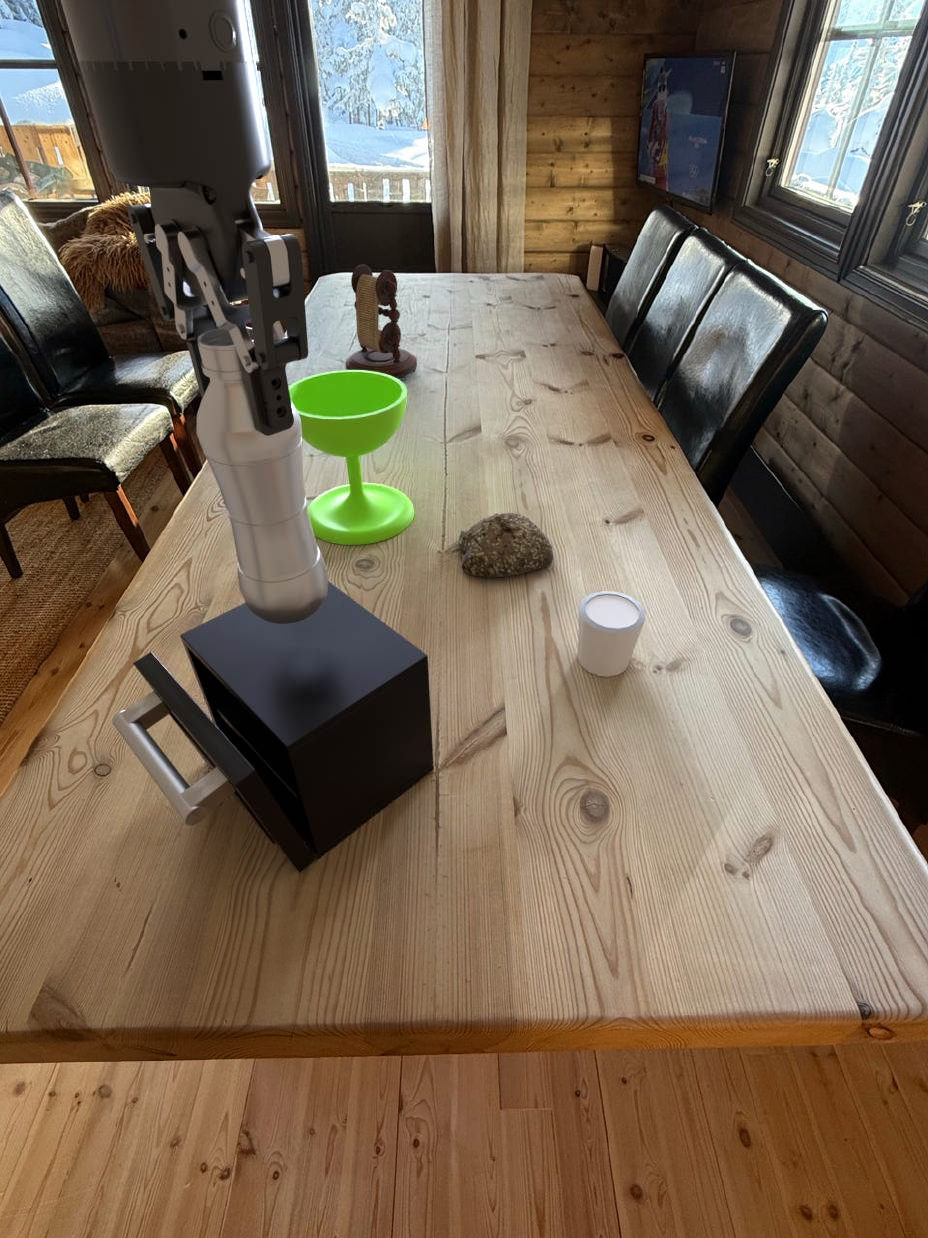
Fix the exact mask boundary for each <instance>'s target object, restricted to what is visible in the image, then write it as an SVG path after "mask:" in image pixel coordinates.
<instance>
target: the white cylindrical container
mask: <svg viewBox="0 0 928 1238" xmlns="http://www.w3.org/2000/svg"><path fill="white" fill-rule="evenodd" d="M578 608H579V611H578V636H577V639H578V640H577V660H578V663H579V664H580V666H581V667H582V668H583V669H584V670H585V671H587V672H588V673H589V674H593V675H595V676H597V677H598V676H599V677H606V678H609V677H610V678H611V677H614V676H619V675H620V674H622V673H624V672H625V671H626V669H627V668H628V666H629V665H630V662H631V659H632V656H633V653H634V651H635V648H636V645H637V643H638V640H639V638H640V635H641V632H642V629H643V627H644V624H645V621H646V610H645V609H644V607H643V606H642V605H641V603H640V602H639V601H637V600H636V599H635V598H634V597H632V596H631V595H627V594H624V593H622V592H619V591H611V590H601V591H596V592H593V593H591V594H588V595H586V596H584V598H583V599H582V600H581V601H580V603H579V607H578Z"/></svg>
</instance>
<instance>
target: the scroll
mask: <svg viewBox="0 0 928 1238" xmlns="http://www.w3.org/2000/svg"><path fill="white" fill-rule="evenodd" d="M350 280H351V281H350V282H351V284H350V285H351V288H352V292H353V293H354V294H355V295H354V296H355V301H354V304H353V305H354V309H355V319H356V335H357V341H358V344H359V346H360V348H361V349H360V350H358V351H356V352H354V353H352V354H351V355H349V356H348V357H347V358H346V359H345V361H344V365H345V370H366V371H374V372H380V373H384V374H388V375H391V376H393V377H395V378H397V379H398V378H401V377H403V376H407V375H409V374H411V373H416V370H417V367H418V360H417V357H416V356H415V354H413V353H411V352H409V351H407V350H405V349H403V348H400V347H401V344H400V342H401V339H402V332H401V328H400V326H399V324H398V323H399V319H400V318H401V313H400V310H399V309H398V302H397V299H396V297H397V296H398V294H397V292H398V280H397V277H396V275H395V273H394V272H393V271H392V270H389V269H385V270H383V271H381V272H380V273H379V275H378V276H375V275H374V274H373V272H372V270H371V268H370V267H369V265H366V264H359V265H357V266H356V267H355V268H354V269H353V272H352V274H351V279H350ZM383 307H389V308H390V309H389V308H383ZM379 316H384V317H385V318H388V319H389V320H390V321H389V322H387V323H386V324H384V326H383V327H382V329H380V328H379V321H380V318H379Z"/></svg>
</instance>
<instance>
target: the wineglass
mask: <svg viewBox="0 0 928 1238" xmlns="http://www.w3.org/2000/svg"><path fill="white" fill-rule="evenodd" d="M288 387H289V393H290V399H291V401H292V403H293V404H294V406H295V408H296V410H297V412H298V414H299V416H300V419H301V427H302V440H304V441H305V442H306V443H307V444H309V446H310V447H313V448H315V449H316V450H317V451H320V452H323V453H326V454H328V455H331V456H334V457H339V458H345V461H346V468H347V478H348V483H347V484H343V485H339V486H336V487H333V488H331V489H328V490H326V491H324V492H322V493H321V494H319V495H318V496H316V497H315V498H314V499H313V500H312V501H311V502H310V503H309V504H308V505H307V510H308V514H309V518H310V521H311V525H312V529H313V532H314V536H315V538H318V539H320V540H323V541H325V542H328V543H331V544H332V543H333V544H338V545H344V546H346V545H347V546H359V545H360V546H362V545H369V544H376V543H378V542H382V541H386V540H388V539H390V538H393V537H394V536H397V535H400V533H402V532H403V531H404V530H405V529H407V528H409V526H410V525H411V523H412V522H413V520H414V517H415V513H416V512H415V508H414V504H413V501H411V499H410V498H409V497H408V495H406V493H404V492H402V491H400V490H399V489H397V488H395V487H392V486H389V485H386V484H381V483H375V482H363V481H364V480H363V472H362V463H361V456H366V455H368V454H371V453H373V452H374V451H376V450H378V449H379V448H380V447H382V446H383V445H386V443H388V442H389V441H390V440H391V439H392V437H393V436H394V434H395V433H396V432H397V431H398V429H399V428H400V426H401V424H402V421H403V418H404V415H405V412H406V409H407V405H408V404H407V401H408V389H407V385H406V383H404V382H403V380H402V381H401V379H399V378H398V377H397V378H395V377H393V376H391V375H388V374H384V373H380V372H374V371H366V370H346V369H342V370H332V371H326V372H321V373H316V374H313V375H308V376H307V377H303V378H301V379H299V380H296V381H294V382H293V383H291V384H290V385H288Z"/></svg>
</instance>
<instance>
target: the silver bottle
mask: <svg viewBox="0 0 928 1238" xmlns="http://www.w3.org/2000/svg"><path fill="white" fill-rule="evenodd" d="M246 328H247V330H248V333H249V335H250V338H251V340H252V343H253V345H254V340H253V333H252V327H249V326H246ZM197 341H198V347H199V351H200V355H201V359H202V362H201V366H202V370H203V373H204V374H205V375H206V376H207V377H210V383H209V385H208V388H207V390H206V392H205V394H204V396H203V398H202V397H201V401H200V404H199V408H198V410H197V413H196V433H195V434H196V436H197V439H198V441H199V444H200V447H201V449H202V452H203V454H204V456H205V458H206V460H207V463H208V465H209V467H210V469H211V470H210V471H212V474H213V477H214V478H215V481H216V483H217V486H218V488H219V491H220V494H221V497H222V500H223V503H224V506H225V508H226V513H227V515H228V518H229V520H230V523H231V524H230V525H231V529H232V536H233V541H234V548H235V552H236V558H237V579H238V588H239V589H238V590H239V592H240V594H241V597H242V598H243V601H244V603H245V602H246V604H247V606H248V608H249V609H250V610H251V612H253V613H254V614H255V615H257V616H258V617H260V618H262V619H263V620H265V621H268V622H271V623H277V624H289V623H294V622H298V621H301V620H304V619H306V618H308V617H310V616H311V615H313V614H314V613H315V612H316V611H317V610H318V609H319V608H320V606H321V605H322V603H323V602H324V600H325V598H326V596H327V591H328V581H329V574H328V569H327V565H326V563H325V560H324V557H323V554H322V553H321V550H320V548H319V546H318V544H317V540H316V536H315V535H314V532H313V529H312V525H311V521H310V518H309V514H308V510H307V508H308V503H307V496H306V495H307V494H306V493H307V492H306V486H305V478H304V456H303V455H304V452H303V451H304V449H303V448H304V447H303V438H302V427H301V419H300V416H299V414H298V412H297V410H296V408H295V406H294V404H293V403H292V401H291V405H292V410H293V416H294V423H293V426H292V427H291V428H289V429H287V430H284V431H281V432H279V433H276V434H273V435H270V436H266V435H264V434H262V433H261V432H259V431H257V430H256V428H255V425H254V420H253V416H252V411H251V406H250V402H249V397H248V393H247V388H246V383H245V379H244V374H243V370H245V368H244V367H243V365H242V362H241V360H240V358H239V355H238V353H237V350H236V348H235V345H234V343H233V340H232V338H231V335H230V333H229V332H228V331H226V330H224V329H221V328H218V329H213V330H210V331H207V332H205V333H203V334H201V335H200V336H199V337H198V338H197Z"/></svg>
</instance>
